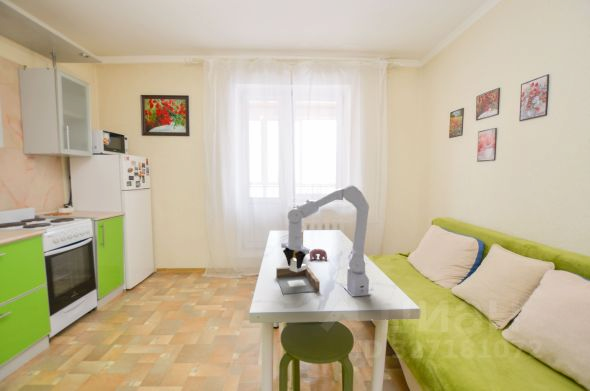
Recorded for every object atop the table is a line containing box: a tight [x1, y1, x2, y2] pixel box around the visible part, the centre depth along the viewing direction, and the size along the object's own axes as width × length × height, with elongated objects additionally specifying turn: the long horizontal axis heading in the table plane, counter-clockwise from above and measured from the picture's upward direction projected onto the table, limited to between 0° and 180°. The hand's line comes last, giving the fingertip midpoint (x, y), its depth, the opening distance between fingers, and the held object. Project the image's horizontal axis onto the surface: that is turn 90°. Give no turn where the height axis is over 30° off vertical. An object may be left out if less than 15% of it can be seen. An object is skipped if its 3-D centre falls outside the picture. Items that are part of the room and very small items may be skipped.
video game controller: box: [309, 248, 328, 261], centre depth 147 cm, size 10×5×7 cm, turn 92°
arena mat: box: [276, 276, 316, 295], centre depth 114 cm, size 18×15×1 cm
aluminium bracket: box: [289, 258, 307, 272], centre depth 114 cm, size 6×4×5 cm
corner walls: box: [275, 265, 320, 293], centre depth 113 cm, size 18×15×4 cm
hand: (294, 266), depth 113 cm, fingers closed on aluminium bracket, 4 cm apart
